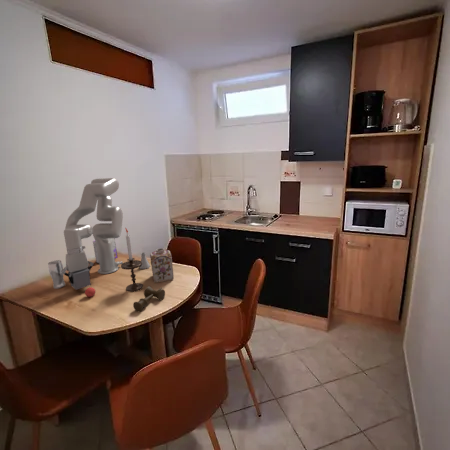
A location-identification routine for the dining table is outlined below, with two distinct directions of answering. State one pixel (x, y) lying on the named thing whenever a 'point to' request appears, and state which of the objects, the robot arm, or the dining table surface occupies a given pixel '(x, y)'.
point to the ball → (90, 292)
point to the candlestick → (131, 267)
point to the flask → (144, 261)
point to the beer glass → (56, 273)
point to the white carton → (113, 249)
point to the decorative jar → (161, 265)
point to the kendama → (149, 297)
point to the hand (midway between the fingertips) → (80, 280)
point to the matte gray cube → (80, 279)
